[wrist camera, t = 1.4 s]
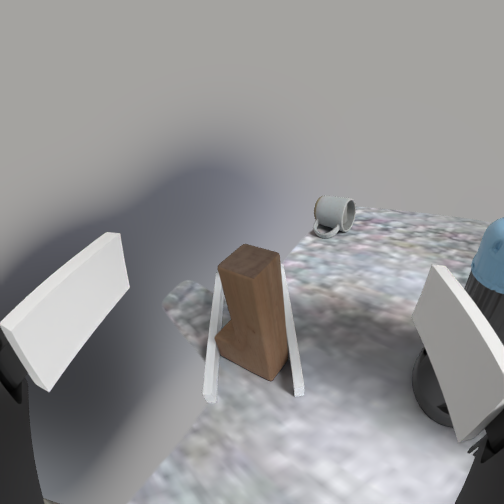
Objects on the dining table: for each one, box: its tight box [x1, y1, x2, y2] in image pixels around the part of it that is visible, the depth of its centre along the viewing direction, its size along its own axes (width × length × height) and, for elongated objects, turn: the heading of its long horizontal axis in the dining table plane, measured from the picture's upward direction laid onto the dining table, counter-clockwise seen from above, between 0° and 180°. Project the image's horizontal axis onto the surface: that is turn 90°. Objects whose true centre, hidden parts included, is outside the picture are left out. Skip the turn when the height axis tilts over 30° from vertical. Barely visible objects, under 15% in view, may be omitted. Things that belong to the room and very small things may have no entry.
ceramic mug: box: [314, 196, 356, 238], centre depth 61 cm, size 11×8×8 cm
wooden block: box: [214, 244, 288, 381], centre depth 32 cm, size 9×4×18 cm, turn 55°
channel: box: [202, 264, 304, 403], centre depth 41 cm, size 12×25×2 cm, turn 1°
